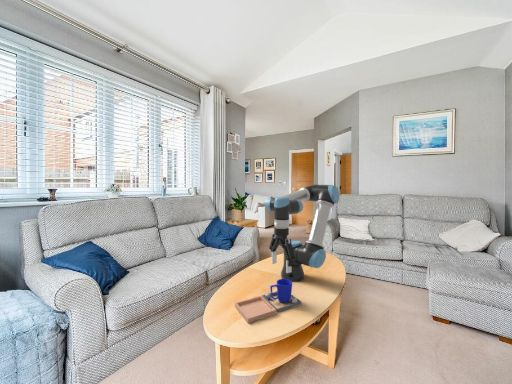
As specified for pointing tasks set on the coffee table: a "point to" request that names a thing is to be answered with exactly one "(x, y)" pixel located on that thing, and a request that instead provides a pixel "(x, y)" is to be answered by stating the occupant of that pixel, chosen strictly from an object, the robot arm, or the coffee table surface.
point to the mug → (283, 290)
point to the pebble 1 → (267, 295)
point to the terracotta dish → (255, 309)
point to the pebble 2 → (294, 300)
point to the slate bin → (283, 306)
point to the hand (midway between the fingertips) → (281, 267)
